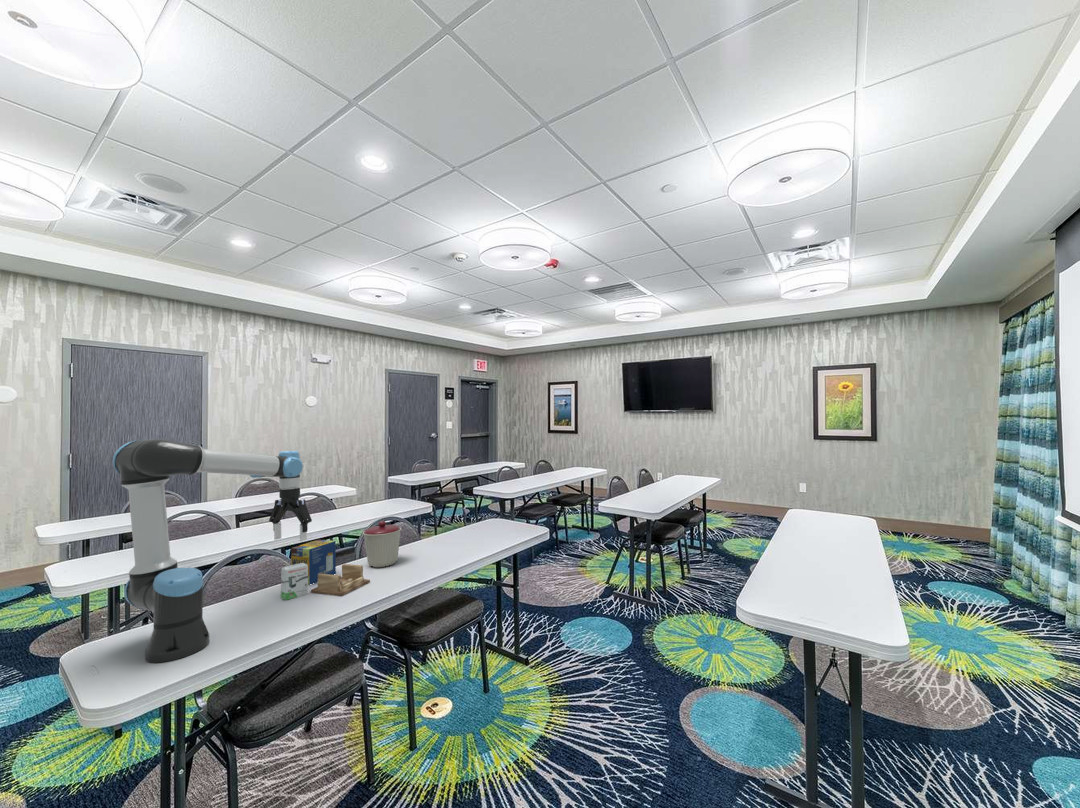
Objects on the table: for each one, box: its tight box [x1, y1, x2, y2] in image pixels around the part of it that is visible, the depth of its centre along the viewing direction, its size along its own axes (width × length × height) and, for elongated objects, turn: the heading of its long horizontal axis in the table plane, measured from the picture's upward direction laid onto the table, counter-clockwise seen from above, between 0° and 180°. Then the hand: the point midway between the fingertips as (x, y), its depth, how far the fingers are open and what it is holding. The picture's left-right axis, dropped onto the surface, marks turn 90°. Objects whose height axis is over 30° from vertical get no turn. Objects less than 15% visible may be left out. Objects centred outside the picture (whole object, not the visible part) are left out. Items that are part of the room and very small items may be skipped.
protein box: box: [290, 539, 337, 586], centre depth 197 cm, size 10×15×16 cm
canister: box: [362, 520, 402, 568], centre depth 215 cm, size 18×18×21 cm
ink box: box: [280, 563, 309, 601], centre depth 177 cm, size 9×5×12 cm, turn 140°
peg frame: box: [310, 563, 371, 597], centre depth 184 cm, size 16×16×7 cm
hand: (290, 539), depth 182 cm, fingers open, 13 cm apart
